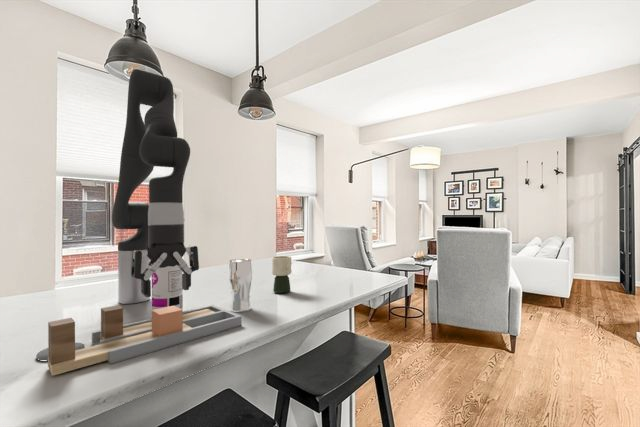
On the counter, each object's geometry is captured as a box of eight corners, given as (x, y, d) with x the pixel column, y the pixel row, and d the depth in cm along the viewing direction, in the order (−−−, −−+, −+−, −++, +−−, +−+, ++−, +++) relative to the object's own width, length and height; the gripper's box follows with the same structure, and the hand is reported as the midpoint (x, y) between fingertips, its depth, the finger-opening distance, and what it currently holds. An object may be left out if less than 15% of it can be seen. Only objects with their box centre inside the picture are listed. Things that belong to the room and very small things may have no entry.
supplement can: (151, 320, 90) (151, 265, 89) (151, 312, 97) (151, 261, 97) (183, 315, 93) (183, 263, 93) (181, 308, 101) (181, 259, 101)
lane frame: (91, 342, 74) (91, 332, 74) (212, 313, 95) (212, 304, 95) (110, 364, 63) (109, 351, 63) (241, 325, 85) (241, 316, 85)
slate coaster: (34, 353, 69) (34, 350, 69) (80, 342, 74) (80, 339, 74) (38, 365, 63) (38, 362, 63) (88, 352, 69) (88, 349, 69)
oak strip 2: (100, 340, 74) (99, 307, 74) (207, 314, 93) (207, 287, 93) (106, 347, 70) (106, 312, 70) (217, 318, 89) (217, 290, 89)
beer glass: (246, 313, 95) (246, 262, 95) (224, 312, 96) (224, 261, 96) (255, 306, 102) (255, 258, 102) (235, 305, 103) (234, 258, 103)
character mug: (298, 293, 118) (298, 257, 118) (281, 297, 113) (281, 259, 113) (282, 288, 126) (282, 254, 126) (266, 291, 122) (265, 256, 122)
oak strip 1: (47, 365, 62) (47, 320, 62) (183, 329, 81) (183, 295, 81) (52, 375, 58) (51, 327, 58) (193, 335, 77) (193, 299, 77)
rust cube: (151, 331, 75) (151, 310, 75) (173, 326, 79) (173, 305, 79) (160, 337, 72) (159, 314, 72) (182, 331, 75) (182, 309, 75)
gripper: (189, 221, 83) (190, 285, 83) (126, 223, 72) (127, 296, 72) (203, 222, 78) (204, 290, 78) (138, 223, 67) (138, 302, 67)
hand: (167, 293), depth 75 cm, fingers open, 8 cm apart
